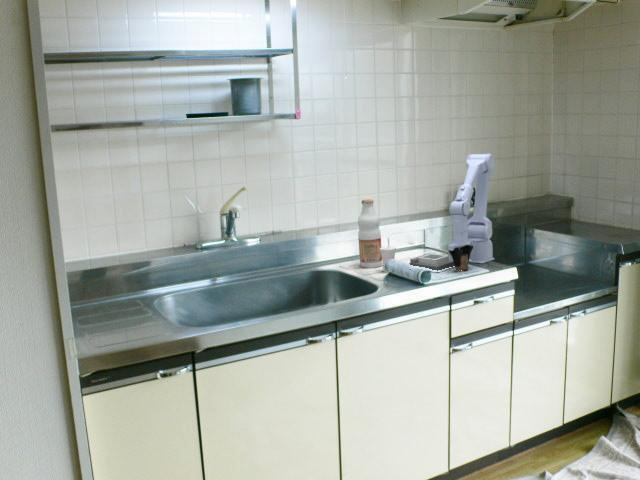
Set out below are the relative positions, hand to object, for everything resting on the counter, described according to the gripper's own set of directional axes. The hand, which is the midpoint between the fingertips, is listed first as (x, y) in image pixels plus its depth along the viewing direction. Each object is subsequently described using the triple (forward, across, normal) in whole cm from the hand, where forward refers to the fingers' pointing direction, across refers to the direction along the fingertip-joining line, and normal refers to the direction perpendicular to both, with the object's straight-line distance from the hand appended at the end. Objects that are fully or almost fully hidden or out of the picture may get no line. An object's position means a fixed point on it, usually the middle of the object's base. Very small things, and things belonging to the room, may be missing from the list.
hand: (461, 265), depth 271 cm
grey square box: (+2, -2, +12) cm, 12 cm away
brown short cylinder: (+2, 0, 0) cm, 2 cm away
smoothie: (+2, -16, +24) cm, 29 cm away
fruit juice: (+2, -12, +37) cm, 39 cm away
